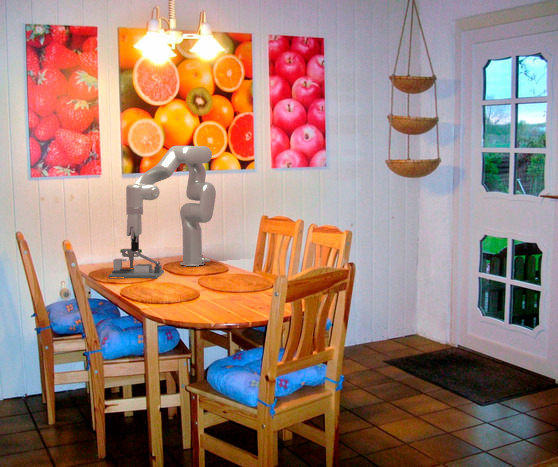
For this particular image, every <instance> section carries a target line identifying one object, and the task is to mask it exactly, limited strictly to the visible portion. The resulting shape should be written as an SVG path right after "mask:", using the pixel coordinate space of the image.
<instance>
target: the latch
mask: <svg viewBox="0 0 558 467" xmlns="http://www.w3.org/2000/svg"><path fill="white" fill-rule="evenodd" d="M127 260H128V259H127V258H126V259H125V258H114V259H113V260H112V262H113V271H122V269H123V262H127Z"/></svg>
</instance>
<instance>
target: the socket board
mask: <svg viewBox="0 0 558 467" xmlns="http://www.w3.org/2000/svg"><path fill="white" fill-rule="evenodd" d="M164 272H165V270H164V269H162V264H160V265H158V266H156V265H155V266H154V268H152V272H150V273H149V274H134V268H133V269H130V268H122V271H114V270H112V271H111V273H110V274H108V278H109V277H124V278H123V279H125V278H151V280H152V279H153V280H155V279H156V280H158V278H159V277H160V276H161V275H163V274H164Z"/></svg>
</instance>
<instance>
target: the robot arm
mask: <svg viewBox="0 0 558 467" xmlns="http://www.w3.org/2000/svg"><path fill="white" fill-rule="evenodd" d="M212 156H213V154H212V150H211V148H209V147H208V146H205V145H201V146H200V145H199V146H197V145H195V146H194V145H174V146H172V147H170V148H169V149H168V150H167V151H166V153H165V154H164V155H163V157H162V158H160V160H159V162H158V163H157V164H156V165H155V166H153V167H151V168H150V169H148V170H147V171H146V172H144V173H143V174H141V176H139V177H138V178H137V180H136V181H135V182H134V183H133V184H127V185H126V188H125V189H126V192H125V193H126V194H125V196H126V198H125V200H126V206H125V207H126V211H125V212H126V215H127V217H126V218H127V219H126V236H127V237H130V249H131V251H136V252H137V251H139V249H140V246H139V245H140V235H142V233H143V232H142V231H143V230H142V229H143V223H142V216H143V215H144V203H143V202H144V200H145V201H153V200H156V199H158V198H159V196H160V192H161V191H160V188H159V187H158V186H157V185H156V183H159V182H161V181H164V180H166V179H170V177H171V176H173V174H174V173H175V171H176V170H177V169H178V168H179V167H180V165H181V164H186V166H187V169H188V180H187V185H186V190H185V191H186V195H185V196H186V197H187V199H188V200H191V201H195V202H187V203H184V204H183V205H182V206H181V208H180V209H179V210H180V211H179V213H180V214H179V216H180V220H181V227H182V229H181V230H182V261H180V263H179V265H180V264H181V265H186V266H196V267H200V266H199V265H203V266H205V265H206V262H207V263H211V257H204V255H202V254H203V252H202V251H203V250H202V243H203V242H202V228H201V224H200V223H202V224H207V223H209V222H210V221H211V220H212V218H213V214H214V209H215V202H216V196H217V193H216V188H215V185H214V184H212V183H211V182H207V181H206V177H207V176H206V175H207V174H206V172H207V171H206V168H205V166H204V164H207V163H209V162H210V161H211V160H212ZM197 202H199V203H197ZM204 264H205V265H204ZM181 265H180V266H181ZM186 266H185V267H186Z"/></svg>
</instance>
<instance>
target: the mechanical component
mask: <svg viewBox="0 0 558 467" xmlns="http://www.w3.org/2000/svg"><path fill="white" fill-rule="evenodd" d="M130 250H131V248H121V249H120V250H119V252H120V254H121V256H122V257H124V258H128V261H129V269H130V268H133V269H134V261H135V258H138V257H139V256H138V255H136V254H134V253H132V252H130ZM136 252H138V253H140V254H142V252H143V250H142V248H139V251H136Z"/></svg>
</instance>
